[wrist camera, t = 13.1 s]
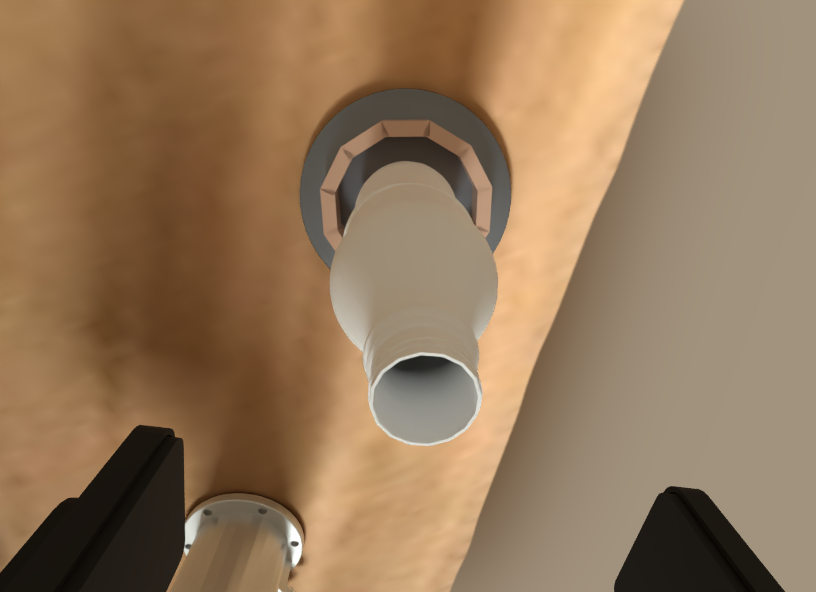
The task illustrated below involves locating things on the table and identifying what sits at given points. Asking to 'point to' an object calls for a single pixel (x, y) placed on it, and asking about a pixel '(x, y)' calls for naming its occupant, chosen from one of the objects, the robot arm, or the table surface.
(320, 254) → the ring plate
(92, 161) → the table surface
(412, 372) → the water bottle
